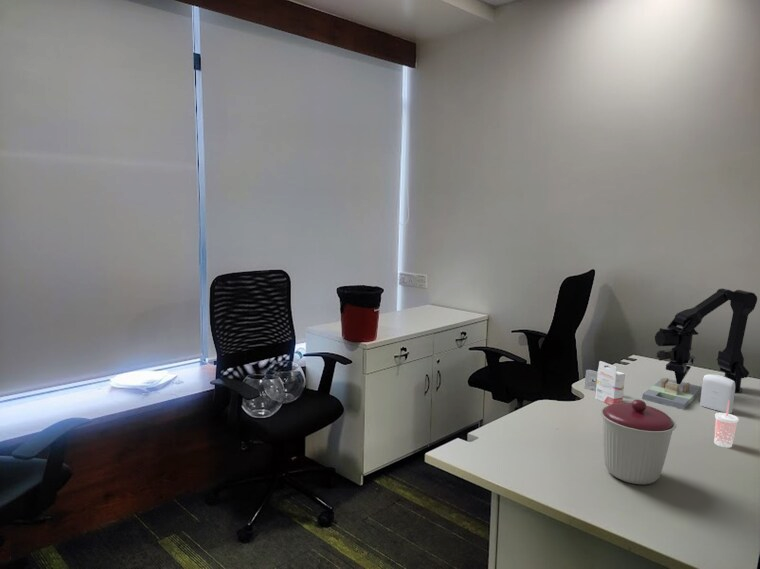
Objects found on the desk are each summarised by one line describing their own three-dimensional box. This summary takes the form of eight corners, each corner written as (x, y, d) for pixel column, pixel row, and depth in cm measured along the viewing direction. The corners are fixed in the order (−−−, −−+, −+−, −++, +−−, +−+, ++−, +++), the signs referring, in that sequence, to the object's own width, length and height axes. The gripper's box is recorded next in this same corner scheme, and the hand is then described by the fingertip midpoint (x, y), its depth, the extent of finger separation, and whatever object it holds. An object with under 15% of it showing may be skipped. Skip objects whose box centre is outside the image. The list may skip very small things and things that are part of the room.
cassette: (583, 388, 209) (585, 370, 208) (585, 387, 211) (587, 368, 209) (615, 396, 202) (617, 377, 200) (617, 395, 203) (619, 375, 202)
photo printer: (697, 405, 194) (701, 373, 192) (702, 403, 197) (706, 371, 195) (729, 415, 187) (734, 381, 185) (733, 412, 189) (738, 378, 187)
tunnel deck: (662, 382, 219) (663, 371, 218) (701, 391, 209) (702, 380, 209) (642, 398, 200) (643, 387, 199) (683, 409, 190) (685, 397, 190)
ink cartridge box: (622, 404, 194) (627, 365, 191) (613, 406, 191) (617, 367, 189) (604, 396, 201) (607, 358, 199) (594, 398, 199) (598, 360, 197)
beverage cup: (738, 449, 160) (744, 405, 158) (716, 447, 161) (722, 403, 159) (729, 440, 166) (735, 398, 164) (708, 438, 167) (713, 396, 165)
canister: (606, 452, 156) (613, 383, 153) (675, 473, 145) (685, 399, 142) (585, 476, 143) (593, 400, 139) (660, 501, 131) (670, 420, 128)
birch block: (667, 389, 205) (668, 381, 205) (678, 391, 202) (679, 384, 202) (664, 391, 202) (665, 384, 202) (676, 394, 199) (677, 386, 199)
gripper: (666, 337, 218) (662, 373, 221) (653, 345, 205) (649, 384, 207) (697, 342, 211) (693, 380, 214) (685, 351, 197) (681, 392, 200)
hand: (678, 384), depth 209 cm, fingers closed
